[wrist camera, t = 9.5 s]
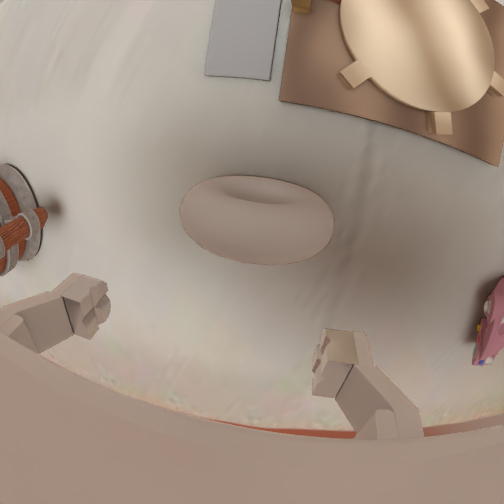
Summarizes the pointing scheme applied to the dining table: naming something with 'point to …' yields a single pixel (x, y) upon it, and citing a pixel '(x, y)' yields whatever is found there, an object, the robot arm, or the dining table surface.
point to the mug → (18, 220)
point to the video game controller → (490, 328)
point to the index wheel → (421, 53)
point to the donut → (256, 219)
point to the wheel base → (373, 99)
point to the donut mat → (242, 39)
